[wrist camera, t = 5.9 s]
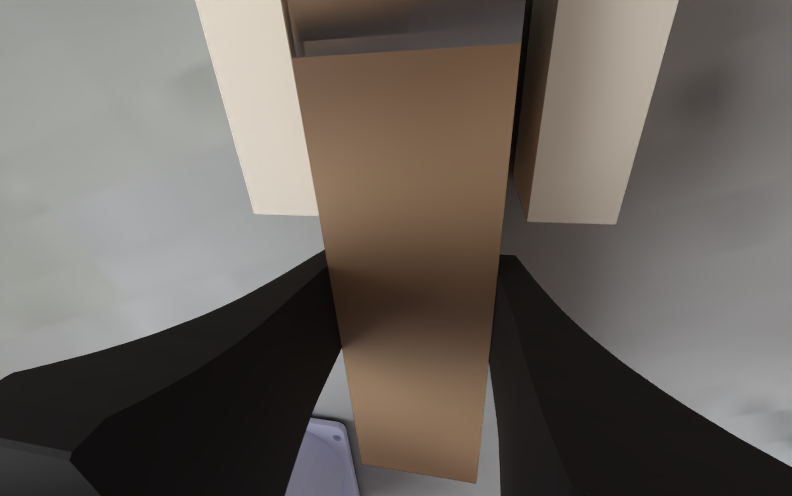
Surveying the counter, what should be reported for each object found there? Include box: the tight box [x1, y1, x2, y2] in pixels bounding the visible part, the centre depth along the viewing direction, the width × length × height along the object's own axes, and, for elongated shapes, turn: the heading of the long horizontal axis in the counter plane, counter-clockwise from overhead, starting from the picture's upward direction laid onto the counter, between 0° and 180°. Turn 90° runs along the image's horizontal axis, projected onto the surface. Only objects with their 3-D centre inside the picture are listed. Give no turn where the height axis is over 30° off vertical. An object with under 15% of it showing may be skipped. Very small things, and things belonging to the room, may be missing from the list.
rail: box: [282, 0, 526, 484], centre depth 11 cm, size 14×4×5 cm, turn 4°
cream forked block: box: [195, 0, 679, 224], centre depth 8 cm, size 8×10×6 cm
